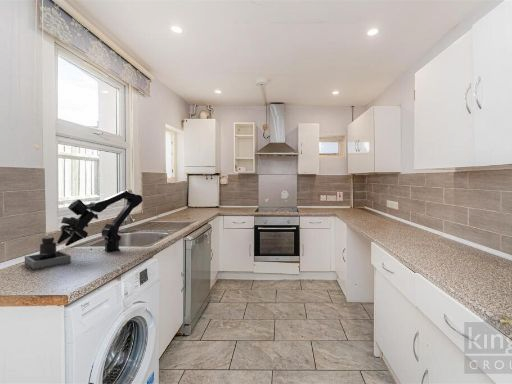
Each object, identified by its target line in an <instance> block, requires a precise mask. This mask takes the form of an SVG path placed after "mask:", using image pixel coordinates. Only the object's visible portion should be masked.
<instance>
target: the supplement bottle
mask: <svg viewBox="0 0 512 384" xmlns="http://www.w3.org/2000/svg"><path fill="white" fill-rule="evenodd" d="M41 239H42V240H41V243H40V245H39V254H40V260H46V259H51V258H56V251H57V242H55V237H54V236H45V237H42V238H41Z"/></svg>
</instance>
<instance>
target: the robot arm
mask: <svg viewBox="0 0 512 384" xmlns="http://www.w3.org/2000/svg"><path fill="white" fill-rule="evenodd" d="M121 200H126V204H125V206H124V207H123V208H122V209H121V211H120V212H119V214H117V216H116V217H115V219H114V220H113V221H112V222H111V223H110V224H109V223H106V224H105V225H104V227H103V228H101V230H102V231H101V232H100V233H101V236H102V237H103V239H104V240H105V243H104V247H105V248H104V251H105V252H109V253H111V252H116V251H120V250H121V248H120V241H121V239H122V236H120V234H118V233H119V230H120V227H121V226H122V224H123V223H124V221H126V219H127V217H128V216H129V215H130V214H131V212H132V211H133V210H134V209H135V208H136V207H139V206H140V204H142V202H143V197H142V196H141V195H140V194H135V193H132V192H130V191H126V190H121V191H120V192H118V193H115V194H112V195H111V196H108V197H106V198H104V199H100V200H95V201H92V202H90V203H88V204H85V203H84V202H83V201H82V200H81V199H76V200H75V201H73V202H72V203H70V204H69V206H67V208H68V209H69V210H70V211H71V212H72V213H74V215H76V216H79V217H78V218H76V217H72V216H71V217H66V216H64V217H62V220H61V221H60V224H62V225H61V226H60V232H61V234H60V236H59V238H58V240H57V241H56V244H59V245H60V244H61V243H62V242H65V240H67V239H68V238H69V239H68V240H67V241H66V243H65V246H66V247H68V246H70V245H72V244H74V243H76V242H78V241H80V240H83V239H86V238H87V237H88V236H89V235H88V234H89V232H87V231H86V230H85V228H88V227H89V224H90V223H91V221H92V220H93V219H95V220H98V219H99V216H98V214H97V213H101V212H103V211H104V210H105V209H107V208H108V207H109V206H111V205H113V204H115V203H117V202H119V201H121Z"/></svg>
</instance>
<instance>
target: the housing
mask: <svg viewBox="0 0 512 384" xmlns="http://www.w3.org/2000/svg"><path fill="white" fill-rule="evenodd" d="M71 256H72V255H70V254H69V253H66V252H64V251H61V250H56V258H51V259H46V260H40V253H38V254H32V255H31V254H30V255H25V256H24V265H25V266H26V267H28V268H29V269H31V270H32V271H39V270H44V269H48V268H54V267H55V268H56V267H59V266H64V265H69V264H71V263H72V261H71Z"/></svg>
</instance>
